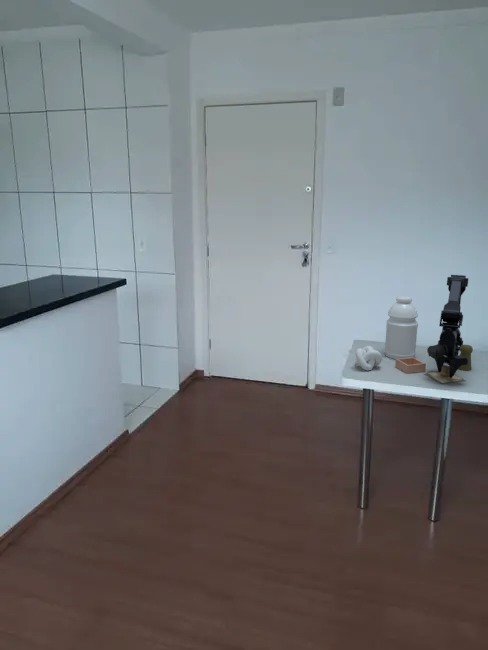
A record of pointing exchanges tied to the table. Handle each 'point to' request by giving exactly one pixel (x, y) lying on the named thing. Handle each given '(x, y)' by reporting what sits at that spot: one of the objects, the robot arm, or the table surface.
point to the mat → (444, 383)
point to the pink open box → (410, 365)
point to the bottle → (401, 329)
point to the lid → (444, 375)
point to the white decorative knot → (368, 358)
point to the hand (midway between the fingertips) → (445, 374)
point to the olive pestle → (466, 352)
